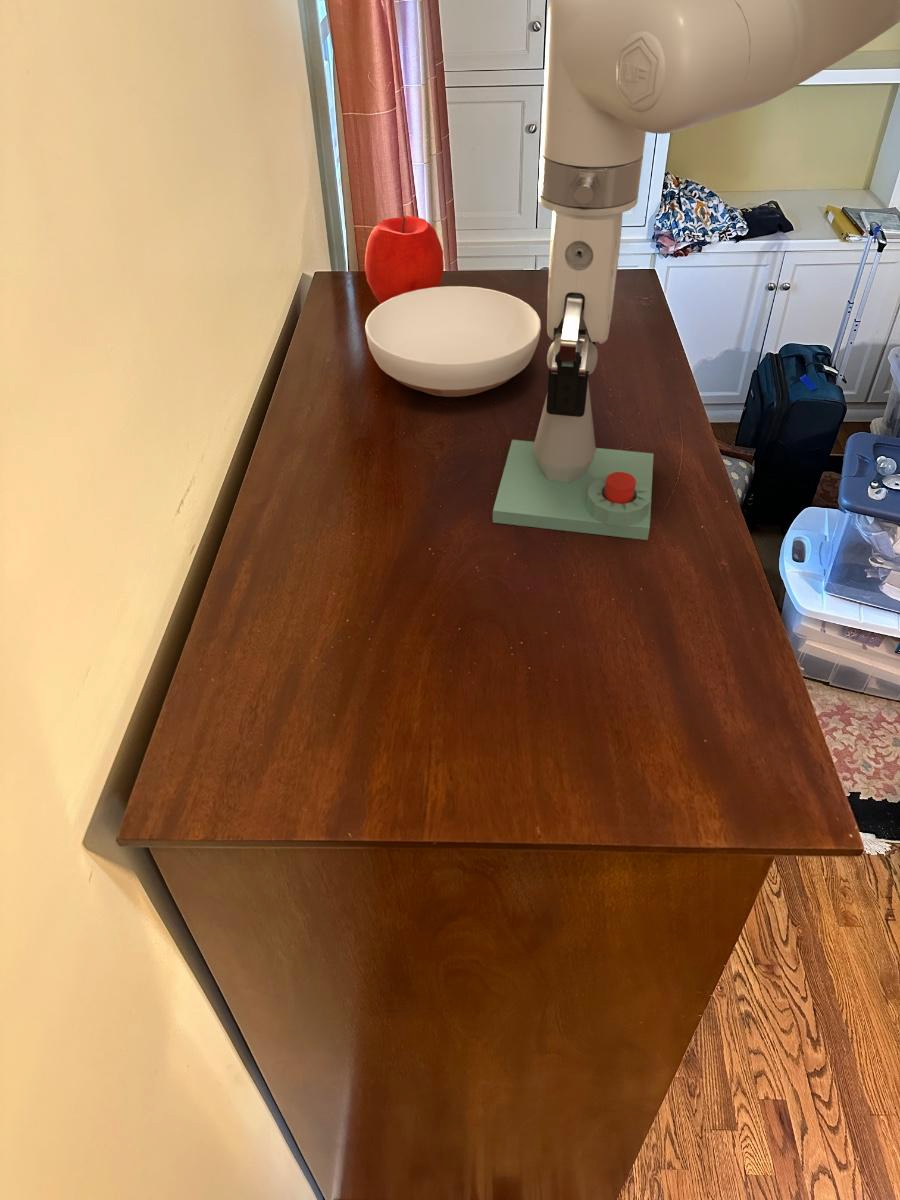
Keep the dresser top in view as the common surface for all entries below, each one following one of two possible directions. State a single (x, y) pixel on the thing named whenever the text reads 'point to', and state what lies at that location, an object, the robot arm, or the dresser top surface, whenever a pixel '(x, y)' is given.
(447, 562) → the dresser top surface
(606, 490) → the button
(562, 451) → the salt shaker
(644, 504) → the green flat block
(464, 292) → the bowl
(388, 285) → the apple
